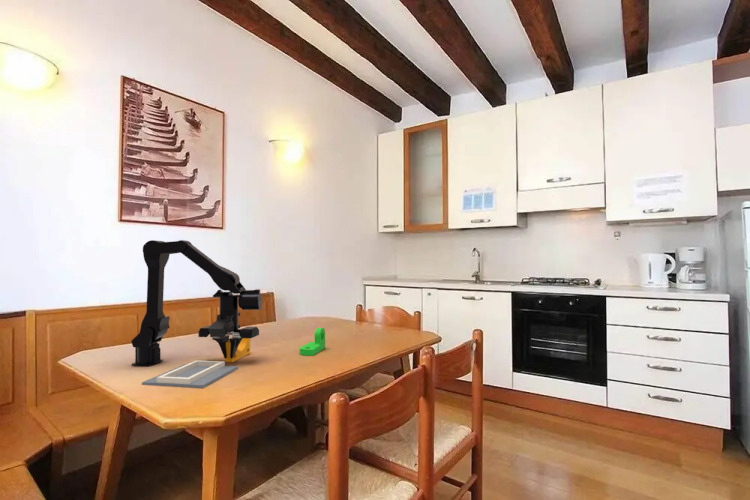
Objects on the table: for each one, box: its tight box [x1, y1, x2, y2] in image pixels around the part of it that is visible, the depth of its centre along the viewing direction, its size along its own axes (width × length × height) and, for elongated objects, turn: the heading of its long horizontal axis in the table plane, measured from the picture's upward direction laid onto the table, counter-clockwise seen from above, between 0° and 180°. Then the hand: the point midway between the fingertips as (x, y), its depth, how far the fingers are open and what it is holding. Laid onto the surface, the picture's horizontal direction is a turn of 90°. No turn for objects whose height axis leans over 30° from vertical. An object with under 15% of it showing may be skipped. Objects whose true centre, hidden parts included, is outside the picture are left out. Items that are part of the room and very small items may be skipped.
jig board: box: [141, 359, 239, 389], centre depth 112 cm, size 18×18×2 cm
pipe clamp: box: [224, 338, 251, 363], centre depth 134 cm, size 12×4×6 cm, turn 171°
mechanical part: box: [299, 327, 326, 357], centre depth 143 cm, size 12×6×8 cm, turn 166°
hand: (228, 358), depth 128 cm, fingers closed on pipe clamp, 2 cm apart
